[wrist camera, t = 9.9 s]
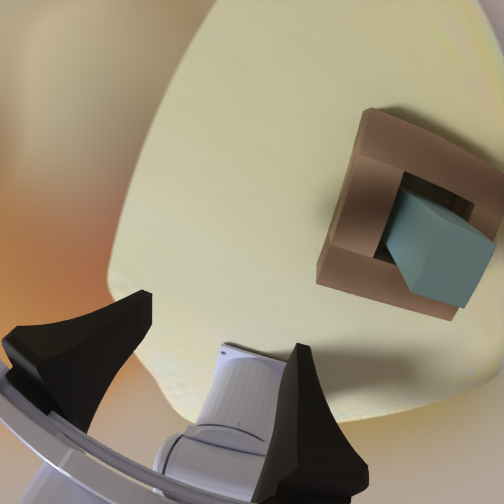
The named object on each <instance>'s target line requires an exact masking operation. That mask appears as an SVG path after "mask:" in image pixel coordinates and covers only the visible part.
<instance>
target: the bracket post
mask: <svg viewBox="0 0 504 504" xmlns="http://www.w3.org/2000/svg"><path fill="white" fill-rule="evenodd" d="M381 237H382V239H383V240H384V242H385V244H386V246H387V247H388V249H389V251H390V253H391V255H392V257H393V259H394V260H395V262H396V264H397V266H398V268H399V270H400V272H401V274H402V276H403V278H404V280H405V282H406V284H407V286H408V288H409V290H410V292H412V293H415V294H418V295H421V296H425V297H428V298H431V299H434V300H438V301H441V302H444V303H447V304H451V305H454V306H457V307H460V308H465V306H466V304H467V303H468V301H469V299H470V298H471V296H472V294H473V292H474V290H475V289H476V287H477V285H478V283H479V281H480V279H481V277H482V275H483V273H484V271H485V269H486V267H487V265H488V263H489V261H490V259H491V256H492V254H493V252H494V250H495V247H496V244H495V243H493V242H492V241H491V240H490V239H489V238H487V237H486V236H485V235H483V234H482V233H481V232H480V231H478V230H477V229H476V228H474V227H473V226H472V225H470V224H469V223H468V222H466V221H465V220H464V219H462V218H461V217H459V216H458V215H457V214H455V213H454V212H452V211H451V210H449V209H448V208H446V207H445V206H443V205H442V204H440V203H438V202H435V201H433V200H431V199H429V198H426V197H424V196H422V195H419V194H417V193H414V192H412V191H410V190H407V189H405V188H402V187H400V186H399V188H398V191H397V194H396V197H395V200H394V203H393V206H392V209H391V212H390V214H389V217H388V220H387V223H386V225H385V228H384V231H383V233H382V236H381Z"/></svg>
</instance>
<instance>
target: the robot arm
mask: <svg viewBox="0 0 504 504" xmlns="http://www.w3.org/2000/svg"><path fill="white" fill-rule="evenodd" d="M151 325H152V293H149V292H147V291H144V290H140V291H137V292H135V293H133V294H131V295H129V296H127V297H125V298H123V299H121V300H119V301H117V302H115V303H113V304H110V305H108V306H106V307H104V308H101V309H99V310H96V311H94V312H92V313H89V314H86V315H83V316H80V317H77V318H74V319H70V320H66V321H61V322H56V323H51V324H44V325H31V326H16V327H15V328H14V329H13V330H12V331H11V332H10V333H9V334H8V335H6V336H5V337H4V338H3V339H2V346H3V348H4V350H5V352H6V354H7V356H8V358H9V360H10V362H11V364H12V366H13V367H12V368H11V369H9V368H8V367H7V366H6V364H5V363H4V362H3V361H2V360H1V359H0V420H1V422H2V423H3V424H4V425H5V426H6V427H7V428H8V429H9V430H10V431H11V432H12V433H13V434H14V435H15V436H16V437H17V438H18V439H19V440H20V441H21V442H23V443H24V444H25V445H26V446H27V447H28V448H29V449H30V450H31V451H33V452H34V453H35V454H36V455H37V456H38V457H40V458H41V459H42V460H43V461H44V463H43V464H42V465H41V467H40V468H39V470H38V471H37V473H36V474H35V476H34V477H33V479H32V480H31V482H30V483H29V485H28V486H27V488H26V490H25V491H24V493H23V494H22V496H21V497H20V499H19V501H18V502H17V504H350V503H351V497H352V496H354V495H356V494H358V493H360V492H362V491H364V490H365V489H366V488H367V487H368V486H369V471H368V465H367V464H366V463H365V462H364V461H363V459H362V458H361V457H360V456H359V455H358V454H357V453H356V451H355V450H354V449H353V447H352V446H351V445H350V443H349V442H348V441H347V439H346V437H345V436H344V434H343V433H342V431H341V429H340V428H339V426H338V424H337V423H336V421H335V419H334V417H333V415H332V413H331V411H330V409H329V406H328V404H327V402H326V399H325V397H324V394H323V391H322V389H321V386H320V383H319V379H318V376H317V373H316V369H315V365H314V362H313V357H312V353H311V348H310V346H307V345H304V344H300V343H296V345H295V348H294V350H293V352H292V354H291V356H290V358H289V360H288V362H283V361H279V360H276V359H272V358H269V357H265V356H262V355H258V354H255V353H252V352H248V351H245V350H242V349H239V348H236V347H233V346H230V345H226V344H222V345H221V346H220V348H219V353H218V358H217V363H216V368H215V373H214V378H213V383H212V387H211V389H210V392H209V394H208V396H207V398H206V401H205V403H204V405H203V408H202V410H201V412H200V414H199V417H198V419H197V421H196V423H195V426H192V425H188V426H187V428H186V431H185V433H181V432H176V433H175V434H173V435H172V436H170V437H168V438H167V439H166V440H165V441H164V442H163V444H162V445H161V447H160V449H159V451H158V453H157V455H156V458H155V461H154V466H153V470H151V469H149V468H147V467H145V466H143V465H141V464H138V463H137V462H134V461H133V460H130V459H128V458H127V457H125V456H123V455H121V454H119V453H117V452H115V451H113V450H112V449H110V448H108V447H106V446H105V445H103V444H101V443H100V442H98V441H96V440H95V439H93V438H92V437H90V436H88V435H87V431H88V429H89V426H90V424H91V422H92V419H93V417H94V415H95V412H96V410H97V408H98V406H99V404H100V402H101V400H102V398H103V396H104V394H105V393H106V391H107V389H108V387H109V385H110V384H111V382H112V380H113V379H114V377H115V375H116V374H117V372H118V371H119V369H120V368H121V367H122V366H123V364H124V363H125V362H126V361H127V359H128V358H129V357H130V355H131V354H132V353H133V352H134V350H135V349H136V348H137V347H138V345H139V344H140V343H141V341H142V340H143V339H144V337H145V335H146V334H147V332H148V330H149V329H150V327H151ZM223 351H224V352H223ZM75 444H76V445H75ZM78 446H79V447H80V448H82V449H83V450H85V451H86V452H88V453H89V454H91V455H93V456H94V457H96V458H98V459H99V460H101V461H102V462H104V463H106V464H108V465H109V466H111V467H113V468H115V469H117V470H119V471H120V472H122V473H124V474H126V475H128V476H130V477H132V478H134V479H136V480H138V481H140V482H142V483H144V484H147V485H149V486H151V487H153V491H151V490H149V489H147V488H145V487H143V486H141V485H139V484H137V483H134V482H133V481H130V480H128V479H127V478H125V477H123V476H121V475H119V474H117V473H115V472H113V471H112V470H110V469H108V468H106V467H104V466H103V465H101V464H100V463H98V462H96V461H94V460H93V459H91V458H90V457H88V456H86V454H85V452H84V451H83V450H82V449H80V448H79V447H78Z"/></svg>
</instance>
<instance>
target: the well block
mask: <svg viewBox="0 0 504 504" xmlns="http://www.w3.org/2000/svg"><path fill="white" fill-rule="evenodd" d="M404 171H406V172H408V173H410V174H413V175H415V176H417V177H420V178H422V179H424V180H427V181H429V182H431V183H433V184H436V185H438V186H440V187H442V188H444V189H446V190H448V191H450V192H452V193H454V194H456V198H455V201H454V204H453V207H452V209H451V211H452V212H454V213H455V214H457V215H458V216H459V217H461V218H462V219H464V220H465V221H466V222H468V223H469V224H470V225H472V226H473V227H474V228H476V229H477V230H478V231H480V232H481V233H482V234H483V235H485V236H486V237H487V238H489V239H490V240H491V241H492V242H493V239H494V237H495V235H496V232H497V229H498V227H499V224H500V222H501V219H502V216H503V213H504V174H502V173H501V172H500V171H498V170H497V169H495V168H493V167H492V166H490V165H489V164H487V163H486V162H484V161H482V160H481V159H479V158H478V157H476V156H474V155H472V154H471V153H469V152H467V151H466V150H464V149H462V148H460V147H458V146H457V145H455V144H453V143H451V142H449V141H447V140H445V139H443V138H441V137H439V136H437V135H435V134H433V133H431V132H429V131H427V130H425V129H423V128H421V127H418V126H416V125H414V124H412V123H409V122H407V121H405V120H402V119H400V118H397V117H395V116H393V115H390V114H387V113H385V112H382V111H380V110H377V109H374V108H369V109H367V110H365V111H363V113H362V117H361V121H360V125H359V129H358V133H357V136H356V140H355V144H354V148H353V151H352V155H351V158H350V162H349V166H348V169H347V172H346V176H345V179H344V183H343V186H342V189H341V193H340V196H339V199H338V202H337V206H336V209H335V212H334V215H333V218H332V221H331V224H330V227H329V230H328V233H327V236H326V239H325V242H324V245H323V248H322V251H321V254H320V257H319V259H318V262H317V273H316V284H319V285H322V286H326V287H329V288H333V289H336V290H340V291H343V292H347V293H350V294H354V295H357V296H361V297H364V298H368V299H371V300H375V301H378V302H382V303H386V304H389V305H393V306H396V307H400V308H404V309H407V310H411V311H414V312H418V313H422V314H425V315H429V316H433V317H436V318H440V319H444V320H448V321H451V320H452V319H453V317H454V316H455V314H456V312H457V311H458V309H459V307H457V306H454V305H451V304H447V303H444V302H441V301H438V300H434V299H431V298H428V297H425V296H421V295H418V294H415V293H412V292H410V290H409V288H408V286H407V284H406V282H405V280H404V278H403V276H402V274H401V272H400V270H399V268H398V266H397V264H396V262H395V260H394V259H393V257H392V255H391V253H390V251H389V249H388V248H386V247H383V246H380V245H378V243H379V241H380V238H381V236H382V233H383V231H384V228H385V225H386V223H387V220H388V217H389V214H390V212H391V209H392V206H393V203H394V200H395V197H396V194H397V191H398V188H399V185H400V182H401V179H402V176H403V173H404Z"/></svg>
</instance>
